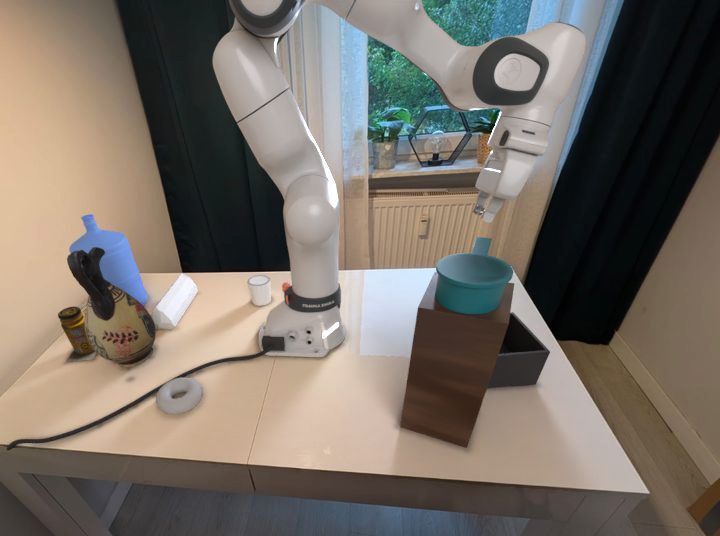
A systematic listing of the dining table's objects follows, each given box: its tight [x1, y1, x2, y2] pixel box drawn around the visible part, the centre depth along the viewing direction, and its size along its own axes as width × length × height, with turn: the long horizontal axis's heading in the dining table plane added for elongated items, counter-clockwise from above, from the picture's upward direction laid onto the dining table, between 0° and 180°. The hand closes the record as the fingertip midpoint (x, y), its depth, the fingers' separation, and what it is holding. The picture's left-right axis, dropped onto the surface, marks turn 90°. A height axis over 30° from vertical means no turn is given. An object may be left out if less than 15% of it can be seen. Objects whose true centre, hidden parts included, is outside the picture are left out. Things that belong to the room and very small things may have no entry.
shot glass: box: [246, 274, 272, 307], centre depth 112 cm, size 7×7×7 cm
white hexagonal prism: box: [150, 273, 199, 330], centre depth 112 cm, size 7×7×24 cm
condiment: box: [57, 306, 98, 362], centre depth 97 cm, size 7×8×12 cm
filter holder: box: [435, 236, 514, 314], centre depth 59 cm, size 20×10×5 cm, turn 152°
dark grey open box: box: [487, 311, 551, 390], centre depth 81 cm, size 14×14×9 cm
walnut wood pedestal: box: [399, 271, 515, 449], centre depth 66 cm, size 12×12×27 cm
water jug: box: [68, 213, 149, 307], centre depth 110 cm, size 16×16×28 cm
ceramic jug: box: [66, 247, 157, 369], centre depth 88 cm, size 17×15×30 cm
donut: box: [155, 377, 203, 415], centre depth 82 cm, size 10×4×10 cm
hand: (480, 217), depth 76 cm, fingers open, 8 cm apart
